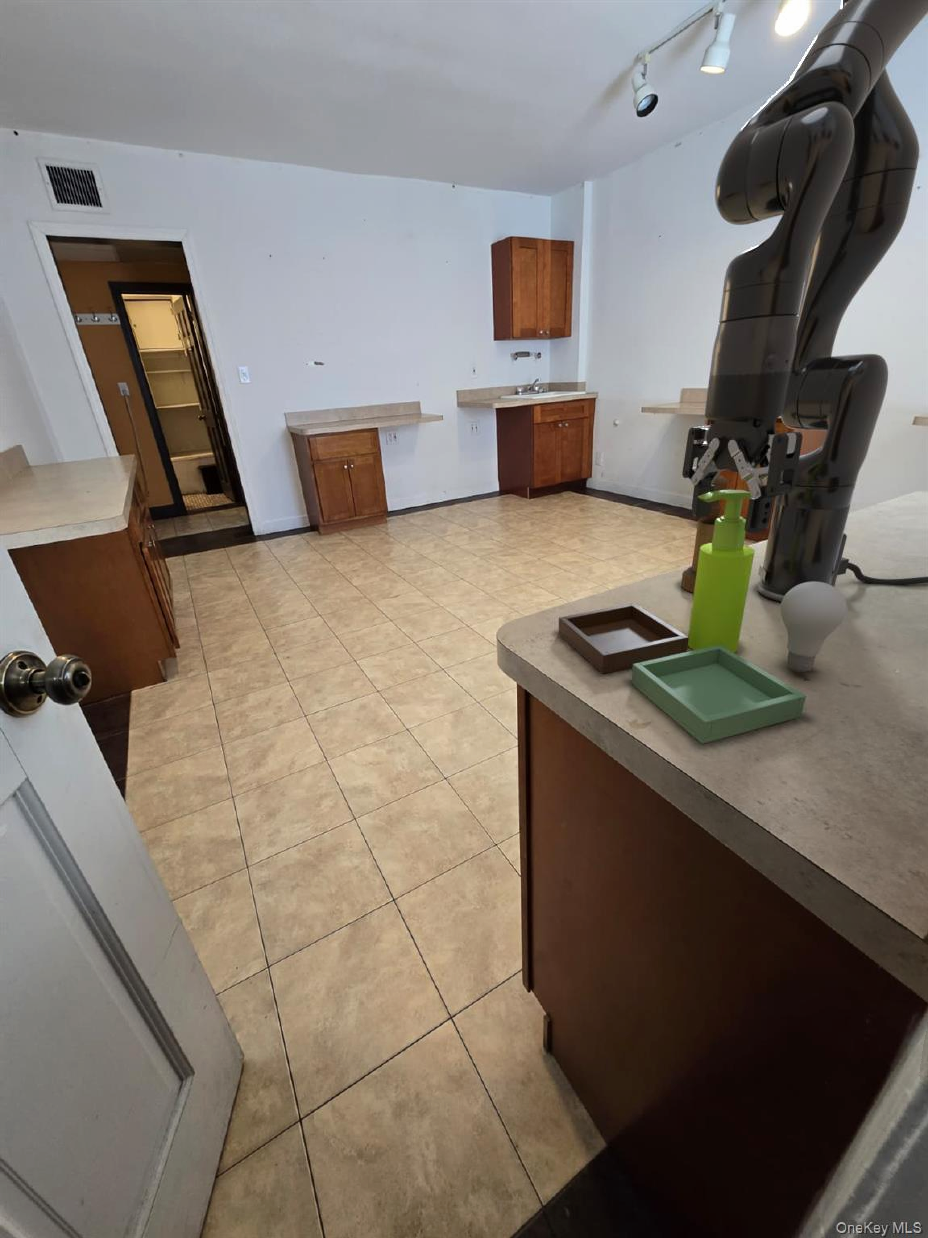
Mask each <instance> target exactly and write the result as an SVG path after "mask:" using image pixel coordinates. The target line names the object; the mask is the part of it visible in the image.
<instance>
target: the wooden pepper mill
mask: <svg viewBox="0 0 928 1238" xmlns="http://www.w3.org/2000/svg"><path fill="white" fill-rule="evenodd" d="M711 485H715V487H714V491H719V490H727V489H728V480H727V479H726V477H725V476H723V475H718V477H717V478H716V479H715V481H714V482H713V483H711ZM722 507H723V506H722V505H721V504H720V500H716V501H713V502H712V508H711V513H710V515H709V516H705V517H702V518H699V519H698V520H697V524H696V532H695V533H696V534H695V542H694V549H693V556H692V561H691V566H689V567H688V568H687V569H685V570H683V572H682V575H681V581H680V584H681V585H680V586H681V588H682V589H683V590H685V591H686V592H687V591H688V592H690V593H693V594H694V589H695V582H696V574H697V567H698V559H699V552H700V547H701V546H702V545H704V544H708V543H712V540H713V533H714V526H715V520H716V519H717V518H719V515H720V514H721V510H722Z"/></svg>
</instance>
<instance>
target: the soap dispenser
mask: <svg viewBox="0 0 928 1238" xmlns="http://www.w3.org/2000/svg"><path fill="white" fill-rule="evenodd" d="M698 498H699V499H701V500H703V501H705V502H708V503H709V502H713V501H716V500H719V501H721V500H725V505H724V512H723V515H720V517H718V518H717V519H716V520H715V526H714V533H713V540H712V543H708V544H704V545H702V546H701V547H700V552H699V559H698V567H697V574H696V582H695V589H694V593H693V597H692V603H691V604H692V606H691V614H690V620H689V629H688V635H687V636H688V637H689V641H688V648H689V649H690V650H692V651H694V650H698V649H703V648H707V647H712V646H717V645H721V646H723V647H725V648H726V649H728V650H730V651H732V652H733V653H735V654H736V653H737V651H738V646H739V640H740V634H741V629H742V623H743V618H744V614H745V608H746V601H747V596H748V590H749V585H750V580H751V579H750V578H751V574H752V570H753V569H752V568H753V564H754V563H753V562H754V557H755V549H754V548H753V547H750V546H748V545H745V538H746V533H747V532H746V531H745V523H746V518H744V517H743V516H741V513H742V507H743V501H744V499H750V498H752V496H751V493H750V491H747V490H744V489H726V490H719V491H713V492H709V493H705V494H703V495H700V496H698Z"/></svg>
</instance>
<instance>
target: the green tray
mask: <svg viewBox="0 0 928 1238" xmlns="http://www.w3.org/2000/svg"><path fill="white" fill-rule="evenodd" d="M631 685H632V686H634V687H635V688H636V689H638V690H639V691H640V692H641V693H642V694H643V695H644V696H645V697H647V699H649V700H650V701H651V702H653V704H654V705H656V706H657V707H658V708H659V709H661V710H662V712H664V713H665V714H667V715H668V716H669V717H670V718H671V719H672V720H673V721H674V722H676V723H677V724H678V725H679V726H680V727H681V728H683V729H684V731H686V732H687V733H688V734H690V735H691V736H692V737H693V738H694V739H695V740H697V741H698V743H700V744H706V743H711V742H714V741H715V742H716V741H718V740H721V739H726V738H729V737H732V736H736V735H740V734H744V733H748V732H751V731H755V730H758V729H762V728H765V727H769V726H773V725H776V724H780V723H784V722H787V721H791V720H795V719H798V718H801V717H802V715H803V711H804V707H805V703H806V700H807V695H806V694H804V693H803V692H801V691H800V690H798V689H796V688H794V687H793V686H791V685H790V684H788V683H786V682H784V681H783V680H781V679H779V678H777V677H776V676H774V675H772V674H771V673H769V672H767V671H766V670H764V669H762V668H760V667H759V666H757V665H755V664H754V663H752V662H750V661H748V660H747V659H745V658H744V657H742V656H740V655H738V654H736V652H735V653H733V652H732V651H730V650H728V649H726V648H725V647H723V646H721V645H717V646H712V647H707V648H703V649H698V650H689V651H687V652H685V653H680V654H676V655H671V656H667V657H662V658H658V659H653V660H649V661H644V662H640V663H635V664H633V667H632V670H631Z"/></svg>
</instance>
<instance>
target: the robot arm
mask: <svg viewBox="0 0 928 1238" xmlns="http://www.w3.org/2000/svg"><path fill="white" fill-rule="evenodd" d="M840 4H841V5H840V8H839V9H838V10H837V11H836V13H835V14H834V15H833V16H832V17H831V18H830V20H828V21H827V23H826V24H825V25H824V26H823V28H822V29H821V30H820V31H819V33H818V34H817V35H816V37H815V38H814V40H813V41H812V43H811V45H810V46H809V48H808V49H807V51H806V52H805V54H804V56H803V57H802V59H801V61H800V62H799V64H798V66H797V68H796V69H795V71H794V72H793V74H792V75H791V76H790V79H789V81H787V82H786V84H784V86H782V87H781V88H780V89H779V90H778V91H776V93H775V94H774V95H772V96H771V98H769V99H768V100H767V102H766V103H765V104H764V105H763V106H761V107H760V109H759V110H758V111H757V112H756V113H755V114H754V115H753V116H751V118H750V119H749V120H748V121H747V122H746V123H745V124H744V126H743V127H742V128H741V129H740V130H739V131H738V132H737V134H736V135H735V137H734V138H733V139H732V141H731V143H730V144H729V146H728V148H727V150H726V151H725V153H724V155H723V158H722V159H721V162H720V165H719V167H718V171H717V173H716V174H717V175H716V179H715V186H714V199H715V200H714V201H715V206H716V209H717V211H718V213H719V215H720V216H721V218H722V219H723V220H724V221H725V222H727V223H729V224H731V225H735V226H745V225H746V226H747V225H751V224H754V223H759V222H762V221H766V220H770V219H773V218H777V217H780V216H781V217H780V219H779V222H778V223H777V225H776V226H775V228H774V230H773V232H772V234H770V236H769V237H767V239H765V240H764V241H762V242H761V243H759V244H757V245H755V246H754V247H751V248H750V249H747V250H745V251H743V252H742V253H739V254H738V255H736V256H735V257H733V259H732V260H730V262H729V264H728V265H727V267H726V270H725V275H724V282H723V287H722V295H721V303H720V312H719V320H718V323H719V324H718V325H717V326H718V327H717V332H716V336H715V339H714V343H713V347H712V354H711V361H710V369H709V378H708V385H707V393H706V402H705V410H704V417H705V419H707V420H709V421H710V424H709V425H700V426H699V425H698V426H691V427H690V428H689V429H688V432H687V438H686V445H685V451H684V452H685V453H684V458H683V466H682V472H681V475H682V477H683V478H684V479H689V480H690V481H691V485H692V486H693V493H692V503H691V510H692V512H691V514H692V516H693V517H696V518H706V516H709V515H710V513H711V508H712V502H709V503H708V502H705V501H703V500H701V499H699V498H698V496H700V495H703V494H705V493H709V492H713V491H714V487H715V485H711V483H713V482H714V481H715V479H716V478H717V477H718V476H720V474H721V473H722V472H724V471H725V470H729V471H731V472H733V473H738V474H739V476H740V480H742V481H743V482H745V483H746V484H747V488H748V490H749V492H750V493H751V498H748V506H747V512H746V517H745V519H746V523H745V531H746V533H750V534H757V533H762V532H764V531H765V530H766V528H768V526H769V524H770V526H769V531H768V536H767V541H766V548H765V551H764V552H765V553H764V558H763V563H762V565H761V564H759V566H758V571H757V572H758V576H759V577H760V578H759V581H758V586H757V591H758V592H759V594H760V595H762V596H764V597H765V598H768V599H771V600H773V601H777V602H780V603H781V602H782V600H783V598H784V596H785V595H786V593H787V592H789V591H790V590H791V589H792V588H794V587H795V586H797V585H799V584H802V583H806V582H823V583H827V584H829V585H831V586H833V587H835V585H836V582H837V578H838V576H841V575H845V574H846V573H847V570H849V571H852V573H853V574H854V576H855V578H856V579H857V580H858V581H860V582H863V583H867V584H872V585H887V586H888V585H890V586H903V585H916V584H917V585H918V584H927V583H928V576H919V577H905V578H876V577H872V576H871V577H870V576H868V575H865V574H863V572H862V570H861V568H860V567H859V566H858V565H856V564H855V563H852V562H850V559H849V558H846V557H843V554H844V551H845V547H846V542H847V539H848V535H847V534H846V533H845V529H846V526H847V521H848V516H849V513H850V509H851V504H852V500H853V497H854V493H855V487H856V485H857V480H858V477H859V473H860V471H861V469H862V467H863V464H864V462H865V461H866V458H867V455H868V453H869V449H870V446H871V442H872V439H873V435H874V432H875V429H876V426H877V422H878V419H879V416H880V413H881V410H882V407H883V404H884V400H885V396H886V393H887V388H888V383H889V368H888V364H887V362H886V361H887V360H885V358H884V357H883V356H881V355H879V354H877V353H859V354H845V355H833V350H834V345H835V341H836V337H837V334H838V331H839V328H840V325H841V323H842V319H843V317H844V315H845V313H846V312H847V309H848V307H849V306H850V304H851V303H852V302H853V299H854V298H855V296H856V295H857V294H858V292H859V291H860V289H861V288H862V286H863V285H864V284H865V283H866V281H867V280H868V279H869V278H870V276H871V274H872V273H873V272H875V271H874V270H875V269H876V268H877V267H878V265H879V264H880V262H882V260H883V259H884V257H885V256H886V254H887V253H888V251H889V250H890V248H891V247H892V245H893V244H894V242H895V240H896V239H897V237H898V236H899V235H900V232H901V230H902V228H903V226H904V224H905V221H906V218H907V214H908V210H909V206H910V202H911V197H912V192H913V188H914V183H915V179H916V174H917V169H918V164H919V160H920V142H919V139H918V138H919V137H918V134H917V131H916V129H915V127H914V125H913V123H912V121H911V118H910V116H909V114H908V113H907V111H906V109H905V107H904V105H903V104H902V102H901V100H900V98H899V96H898V95H897V93H896V91H895V89H894V87H893V84H892V83H891V80H890V77H889V74H888V71H887V68H886V67H887V65H888V64H889V62H890V61H891V59H892V58H893V56H894V55H895V53H896V52H897V51H898V50H899V48H900V47H901V46H902V44H903V43H904V42H905V41H906V39H907V38H908V37H909V35H911V33H912V32H913V31H914V30H915V28H916V27H918V25H919V23H920V22H921V21H922V20H923V19H924V18H925V17H926V15H928V0H841V3H840ZM779 418H780V420H781V422H782V424H783V425H784V426H785V427H786V428H788V429H791V430H796V431H789V432H780V433H777V430H776V422H777V420H778V419H779ZM801 431H817V432H818V431H819V432H826V435H825V437H824V440H823V442H822V444H821V446H819V447H818V448H816V449H815V450H813V451H811V452H809V453H806V454H801V451H802V445H803V444H802V443H803V437H804V436H803V433H802V432H801ZM695 459H697V460H696V466H694V462H695ZM758 466H759V467H758Z"/></svg>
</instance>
